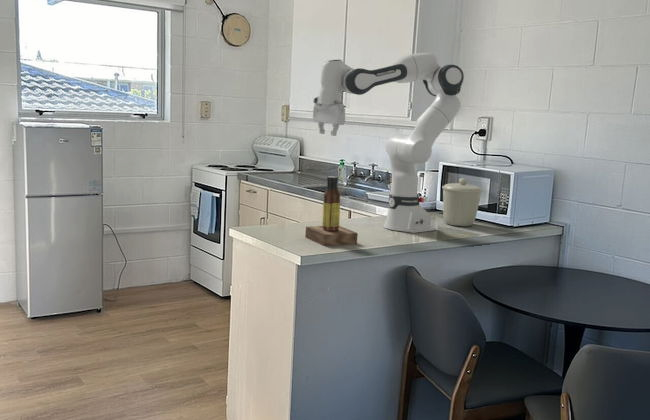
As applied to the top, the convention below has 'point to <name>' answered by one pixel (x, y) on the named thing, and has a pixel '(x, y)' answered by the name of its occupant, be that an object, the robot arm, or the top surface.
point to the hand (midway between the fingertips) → (327, 134)
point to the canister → (460, 203)
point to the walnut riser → (331, 236)
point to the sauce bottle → (331, 205)
